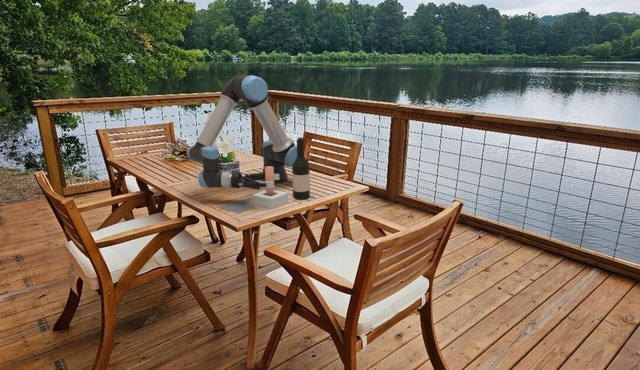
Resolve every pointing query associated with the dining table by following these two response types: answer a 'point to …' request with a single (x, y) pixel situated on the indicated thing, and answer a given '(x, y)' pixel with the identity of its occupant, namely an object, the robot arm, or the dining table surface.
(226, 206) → the mat
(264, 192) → the socket block
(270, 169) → the dowel
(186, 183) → the dining table surface
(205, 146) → the robot arm
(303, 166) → the wine bottle
